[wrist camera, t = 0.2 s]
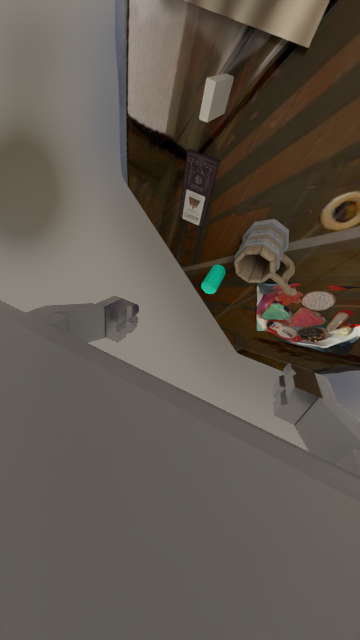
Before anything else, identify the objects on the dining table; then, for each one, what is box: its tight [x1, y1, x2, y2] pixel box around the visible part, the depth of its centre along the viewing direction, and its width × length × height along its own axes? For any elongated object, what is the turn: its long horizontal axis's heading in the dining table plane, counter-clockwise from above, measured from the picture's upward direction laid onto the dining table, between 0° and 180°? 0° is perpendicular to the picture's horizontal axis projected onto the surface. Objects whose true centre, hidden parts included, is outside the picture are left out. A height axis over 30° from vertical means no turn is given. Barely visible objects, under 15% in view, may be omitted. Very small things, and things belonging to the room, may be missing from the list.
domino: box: [199, 74, 234, 123], centre depth 36 cm, size 2×5×10 cm, turn 169°
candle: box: [201, 265, 226, 294], centre depth 71 cm, size 6×6×12 cm
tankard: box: [234, 219, 297, 296], centre depth 53 cm, size 20×13×15 cm, turn 68°
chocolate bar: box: [179, 149, 219, 227], centre depth 56 cm, size 9×1×18 cm
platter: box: [257, 283, 360, 356], centre depth 72 cm, size 35×35×2 cm
